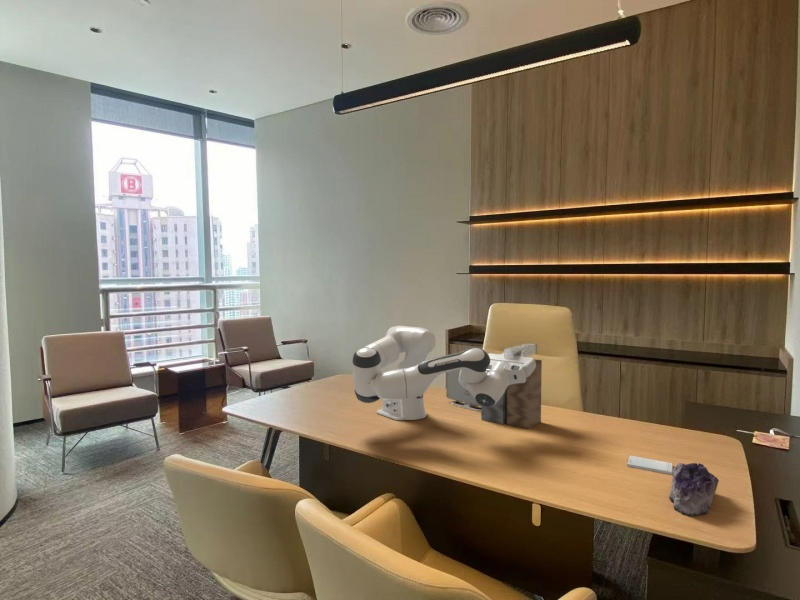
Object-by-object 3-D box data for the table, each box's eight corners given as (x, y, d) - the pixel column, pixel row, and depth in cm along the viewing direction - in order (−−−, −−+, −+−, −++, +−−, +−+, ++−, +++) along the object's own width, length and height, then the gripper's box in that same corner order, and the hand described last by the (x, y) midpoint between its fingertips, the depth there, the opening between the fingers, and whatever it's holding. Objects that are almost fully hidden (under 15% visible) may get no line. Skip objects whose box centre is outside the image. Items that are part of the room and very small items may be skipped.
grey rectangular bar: (503, 359, 185) (503, 349, 185) (528, 352, 202) (528, 343, 202) (513, 360, 183) (513, 350, 182) (536, 353, 199) (537, 343, 199)
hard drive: (627, 463, 151) (672, 471, 144) (629, 454, 158) (672, 462, 151) (626, 468, 151) (672, 476, 144) (629, 459, 158) (672, 467, 151)
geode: (720, 525, 115) (714, 484, 115) (666, 517, 122) (661, 479, 122) (722, 491, 132) (717, 455, 132) (674, 486, 138) (669, 452, 138)
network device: (443, 402, 229) (443, 361, 228) (455, 399, 235) (455, 359, 234) (485, 413, 210) (486, 368, 209) (497, 409, 216) (498, 366, 215)
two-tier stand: (481, 419, 201) (481, 358, 200) (495, 413, 211) (495, 355, 210) (528, 429, 188) (528, 364, 187) (540, 422, 197) (541, 360, 196)
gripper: (480, 376, 188) (494, 355, 197) (528, 383, 175) (542, 360, 184) (476, 363, 185) (491, 342, 194) (525, 369, 172) (539, 347, 181)
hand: (516, 351), depth 189 cm, fingers closed on grey rectangular bar, 4 cm apart
